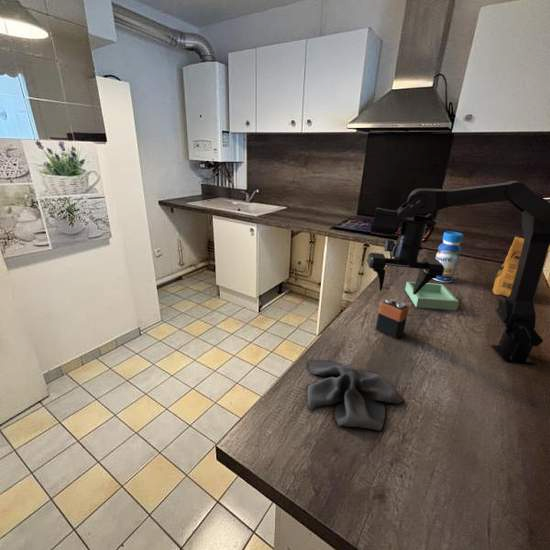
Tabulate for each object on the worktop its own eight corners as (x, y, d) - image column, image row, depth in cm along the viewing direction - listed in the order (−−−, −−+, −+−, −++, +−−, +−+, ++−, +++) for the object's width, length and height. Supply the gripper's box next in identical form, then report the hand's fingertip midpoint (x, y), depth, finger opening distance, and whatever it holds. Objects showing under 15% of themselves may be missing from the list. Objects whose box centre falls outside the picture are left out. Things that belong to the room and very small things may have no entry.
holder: (456, 310, 99) (458, 301, 97) (415, 307, 100) (418, 298, 99) (440, 292, 111) (442, 284, 110) (405, 289, 113) (406, 281, 112)
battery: (396, 339, 83) (403, 308, 79) (374, 329, 87) (380, 299, 83) (403, 333, 85) (410, 303, 81) (382, 324, 90) (387, 295, 86)
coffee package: (493, 285, 118) (511, 233, 110) (532, 295, 110) (555, 239, 102) (489, 293, 111) (508, 238, 103) (530, 304, 104) (555, 245, 95)
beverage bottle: (457, 281, 121) (471, 235, 114) (443, 284, 118) (455, 236, 111) (440, 274, 129) (452, 230, 121) (426, 276, 126) (437, 231, 118)
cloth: (408, 388, 65) (413, 367, 63) (381, 451, 51) (387, 426, 49) (320, 350, 77) (322, 330, 75) (279, 392, 63) (280, 370, 61)
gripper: (437, 234, 82) (422, 284, 88) (369, 227, 84) (360, 276, 91) (453, 246, 72) (435, 301, 78) (375, 238, 74) (364, 292, 80)
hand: (397, 291), depth 82 cm, fingers open, 9 cm apart
